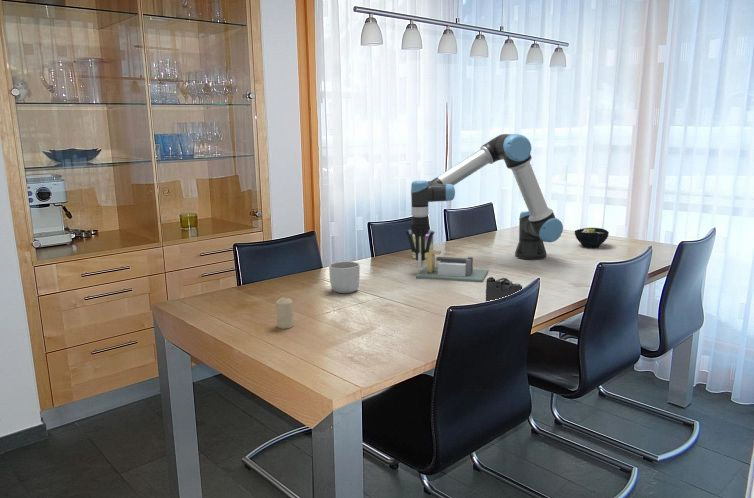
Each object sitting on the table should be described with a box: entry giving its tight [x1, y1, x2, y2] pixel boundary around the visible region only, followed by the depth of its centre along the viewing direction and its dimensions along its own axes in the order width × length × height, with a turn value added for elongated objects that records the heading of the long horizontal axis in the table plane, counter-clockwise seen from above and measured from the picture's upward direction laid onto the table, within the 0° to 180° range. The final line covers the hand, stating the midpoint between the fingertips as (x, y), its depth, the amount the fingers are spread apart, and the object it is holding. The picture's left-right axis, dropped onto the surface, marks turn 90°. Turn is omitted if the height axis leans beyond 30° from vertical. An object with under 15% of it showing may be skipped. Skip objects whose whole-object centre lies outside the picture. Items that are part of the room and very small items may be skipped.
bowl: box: [574, 227, 610, 249], centre depth 312 cm, size 17×17×10 cm
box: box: [412, 233, 434, 259], centre depth 296 cm, size 10×6×12 cm, turn 84°
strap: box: [435, 256, 472, 263], centre depth 259 cm, size 15×3×1 cm, turn 72°
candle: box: [275, 296, 295, 329], centre depth 197 cm, size 6×6×10 cm
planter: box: [328, 261, 360, 294], centre depth 239 cm, size 12×12×11 cm
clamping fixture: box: [415, 256, 489, 283], centre depth 260 cm, size 29×18×8 cm, turn 72°
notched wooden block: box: [426, 249, 442, 273], centre depth 262 cm, size 5×5×9 cm
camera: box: [485, 276, 523, 302], centre depth 217 cm, size 14×11×10 cm
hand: (420, 267), depth 265 cm, fingers closed
